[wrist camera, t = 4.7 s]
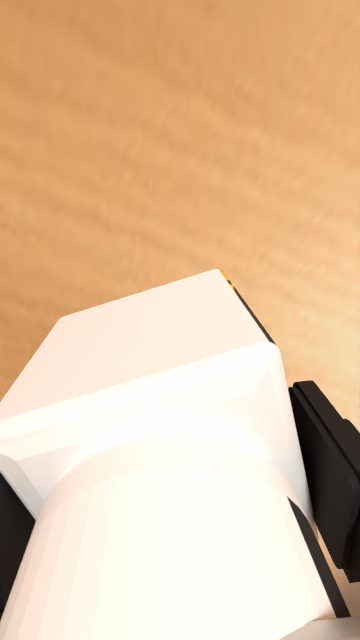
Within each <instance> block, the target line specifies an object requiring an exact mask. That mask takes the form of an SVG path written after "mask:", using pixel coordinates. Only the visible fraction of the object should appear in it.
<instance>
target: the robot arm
mask: <svg viewBox="0 0 360 640" xmlns="http://www.w3.org/2000/svg"><path fill="white" fill-rule="evenodd" d="M288 392H289V397H290V401H291V406H292V411H293V416H294V421H295V426H296V430H297V435H298V440H299V445H300V450H301V455H302V459H303V464H304V469H305V474H306V479H307V484H308V488H309V493H310V498H311V503H312V508H313V514H314V521H315V523H316V525H317V528H318V530H319V532H320V534H321V536H322V538H323V540H324V543H325V545H326V547H327V549H328V551H329V554H330V556H331V558H332V560H333V562H334V564H335V566H336V567H337V568H338V569H343V570H344V572H345V574H346V576H347V578H348V580H349V583H353V582H360V433H359V432H358V430H357V429H356V428H355V427H354V425H353V424H352V423H351V422H350V421H349V420H347V419H343V418H342V417H341V416H340V415H339V413H338V412H337V411H336V409H335V408H334V407H333V406H332V404H331V403H330V402H329V400H328V399H327V398H326V397H325V395H324V394H323V393H322V391H321V390H320V389H319V388H318V386H317V385H316V384H315V382H314V381H301V382H295V383H294V384H293V387H289V388H288ZM35 523H36V520H35V519H34V518H33V516H32V515H31V513H30V512H29V511H28V509H27V508H26V507H25V505H24V504H23V503H22V501H21V500H20V498H19V497H18V496H17V494H16V493H15V492H14V490H13V489H12V487H11V486H10V485H9V483H8V482H7V481H6V479H5V478H4V476H3V475H2V474H1V472H0V621H1V618H2V615H3V612H4V609H5V607H6V604H7V601H8V598H9V595H10V593H11V590H12V587H13V584H14V581H15V579H16V576H17V573H18V570H19V567H20V565H21V562H22V559H23V556H24V553H25V551H26V548H27V545H28V542H29V539H30V537H31V534H32V531H33V528H34V525H35ZM279 640H360V616H357V617H346V618H336V619H327V620H318V621H310V622H308V623H307V624H305V625H304V626H302V627H301V628H299V629H297V630H295V631H293V632H291V633H289V634H288V635H286V636H284V637H282V638H281V639H279Z"/></svg>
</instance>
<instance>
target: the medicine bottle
mask: <svg viewBox="0 0 360 640" xmlns="http://www.w3.org/2000/svg"><path fill="white" fill-rule="evenodd" d="M0 472H1V474H2V475H3V476H4V478H5V479H6V481H7V482H8V483H9V485H10V486H11V487H12V489H13V490H14V492H15V493H16V494H17V496H18V497H19V498H20V500H21V501H22V503H23V504H24V505H25V507H26V508H27V509H28V511H29V512H30V513H31V515H32V516H33V518H34V519H35V520H36V523H35V525H34V528H33V531H32V534H31V537H30V539H29V542H28V545H27V548H26V551H25V553H24V556H23V559H22V562H21V565H20V567H19V570H18V573H17V576H16V579H15V581H14V584H13V587H12V590H11V593H10V595H9V598H8V601H7V604H6V607H5V609H4V612H3V615H2V618H1V621H0V640H279V639H281V638H282V637H284V636H286V635H288V634H289V633H291V632H293V631H295V630H297V629H299V628H301V627H302V626H304V625H305V624H307V623H308V622H310V621H318V620H327V619H336V618H346V617H351V615H350V613H349V611H348V609H347V606H346V604H345V602H344V599H343V597H342V595H341V593H340V590H339V588H338V586H337V584H336V581H335V579H334V577H333V575H332V573H331V570H330V568H329V566H328V564H327V561H326V559H325V557H324V555H323V552H322V550H321V548H320V546H319V543H318V532H317V527H316V523H315V521H314V514H313V508H312V503H311V498H310V493H309V488H308V484H307V479H306V474H305V469H304V464H303V459H302V455H301V450H300V445H299V440H298V435H297V430H296V426H295V421H294V416H293V411H292V406H291V401H290V397H289V392H288V387H287V382H286V377H285V372H284V367H283V363H282V358H281V353H280V350H279V349H278V347H277V345H276V344H275V342H274V341H273V340H272V338H271V337H270V336H269V334H268V333H267V331H266V330H265V329H264V327H263V326H262V325H261V323H260V322H259V320H258V319H257V318H256V316H255V315H254V314H253V312H252V311H251V309H250V308H249V307H248V305H247V304H246V303H245V301H244V300H243V298H242V297H241V296H240V294H239V293H238V292H237V290H236V289H235V287H234V286H233V285H232V283H231V282H230V281H229V279H228V278H227V276H226V275H225V274H224V272H223V271H221V270H219V269H213V270H210V271H207V272H204V273H200V274H197V275H194V276H191V277H188V278H184V279H181V280H178V281H175V282H172V283H169V284H165V285H162V286H159V287H156V288H153V289H149V290H146V291H143V292H140V293H137V294H134V295H130V296H127V297H124V298H121V299H118V300H115V301H111V302H108V303H105V304H102V305H99V306H95V307H92V308H89V309H86V310H83V311H80V312H76V313H73V314H70V315H67V316H64V317H62V318H60V319H59V320H58V322H57V323H56V325H55V326H54V327H53V329H52V330H51V332H50V333H49V334H48V336H47V337H46V339H45V340H44V341H43V343H42V344H41V346H40V347H39V348H38V350H37V351H36V353H35V354H34V356H33V357H32V358H31V360H30V361H29V363H28V364H27V365H26V367H25V368H24V370H23V371H22V372H21V374H20V375H19V377H18V378H17V379H16V381H15V382H14V384H13V385H12V386H11V388H10V389H9V391H8V392H7V394H6V395H5V396H4V398H3V399H2V401H1V402H0Z"/></svg>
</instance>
